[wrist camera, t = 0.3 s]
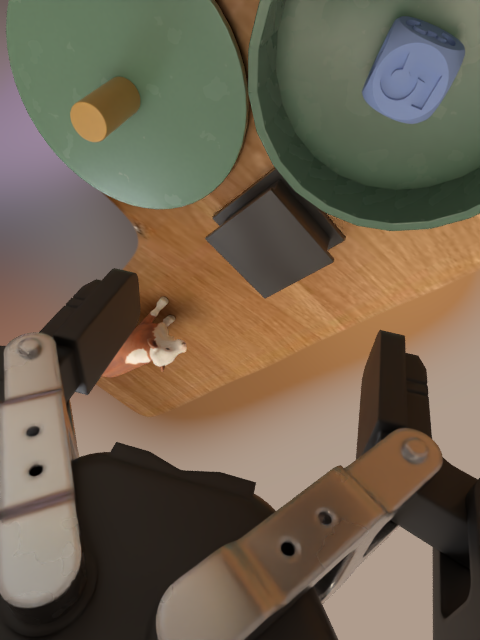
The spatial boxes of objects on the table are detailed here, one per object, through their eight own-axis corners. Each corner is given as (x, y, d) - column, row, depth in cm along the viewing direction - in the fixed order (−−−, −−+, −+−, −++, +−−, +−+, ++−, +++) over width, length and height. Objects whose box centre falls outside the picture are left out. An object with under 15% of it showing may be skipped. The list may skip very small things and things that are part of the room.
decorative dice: (423, 107, 28) (422, 133, 25) (364, 81, 28) (357, 104, 25) (464, 38, 25) (468, 59, 22) (399, 9, 25) (395, 26, 22)
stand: (282, 161, 33) (270, 184, 31) (345, 237, 36) (339, 263, 34) (213, 215, 39) (199, 237, 36) (274, 277, 42) (264, 302, 39)
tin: (497, -291, 18) (512, -325, 15) (651, 79, 24) (684, 112, 21) (214, 42, 29) (187, 65, 26) (369, 234, 36) (362, 271, 32)
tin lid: (89, -171, 24) (16, -179, 20) (305, 109, 30) (285, 148, 26) (-17, 73, 36) (-76, 101, 32) (155, 236, 42) (125, 277, 38)
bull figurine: (212, 313, 47) (183, 372, 42) (133, 342, 55) (100, 394, 50) (186, 284, 46) (152, 341, 40) (108, 318, 53) (71, 370, 48)
